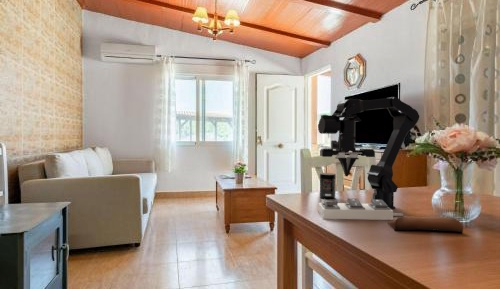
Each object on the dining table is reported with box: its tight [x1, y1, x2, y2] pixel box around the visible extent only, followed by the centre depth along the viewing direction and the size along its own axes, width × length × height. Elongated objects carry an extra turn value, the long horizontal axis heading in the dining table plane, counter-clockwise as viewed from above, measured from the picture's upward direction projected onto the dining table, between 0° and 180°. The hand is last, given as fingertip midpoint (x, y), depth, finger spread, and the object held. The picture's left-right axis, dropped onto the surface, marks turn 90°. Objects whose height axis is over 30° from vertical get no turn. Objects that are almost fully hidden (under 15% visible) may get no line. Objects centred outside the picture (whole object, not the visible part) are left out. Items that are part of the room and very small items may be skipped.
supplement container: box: [319, 172, 337, 200], centre depth 134 cm, size 7×7×10 cm
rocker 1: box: [323, 200, 339, 205], centre depth 103 cm, size 4×5×1 cm
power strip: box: [317, 202, 404, 221], centre depth 104 cm, size 27×10×4 cm, turn 87°
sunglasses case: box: [387, 215, 464, 234], centre depth 89 cm, size 18×7×7 cm
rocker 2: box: [370, 198, 388, 208], centre depth 102 cm, size 4×5×1 cm
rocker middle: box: [347, 197, 363, 208], centre depth 103 cm, size 4×5×1 cm
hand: (346, 176), depth 113 cm, fingers closed
